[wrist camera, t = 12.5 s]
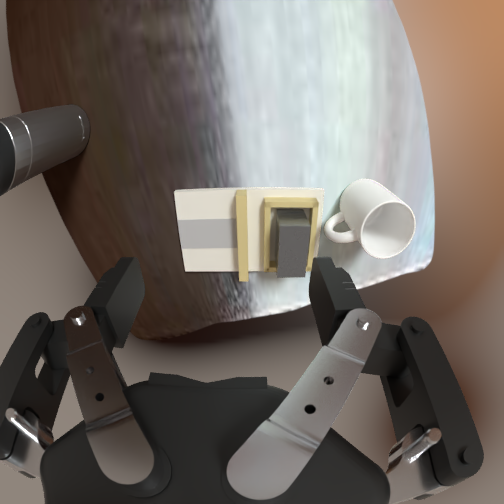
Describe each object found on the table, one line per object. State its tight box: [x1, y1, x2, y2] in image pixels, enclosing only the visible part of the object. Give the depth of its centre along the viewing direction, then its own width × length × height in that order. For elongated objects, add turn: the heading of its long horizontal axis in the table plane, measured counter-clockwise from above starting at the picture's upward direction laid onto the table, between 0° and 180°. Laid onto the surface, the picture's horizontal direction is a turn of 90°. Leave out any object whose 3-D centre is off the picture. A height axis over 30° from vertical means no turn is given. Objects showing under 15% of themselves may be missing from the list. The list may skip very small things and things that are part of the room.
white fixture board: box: [174, 187, 324, 281], centre depth 42 cm, size 22×14×4 cm, turn 91°
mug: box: [324, 179, 416, 259], centre depth 37 cm, size 12×8×10 cm
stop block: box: [275, 209, 311, 277], centre depth 40 cm, size 8×4×6 cm, turn 0°
